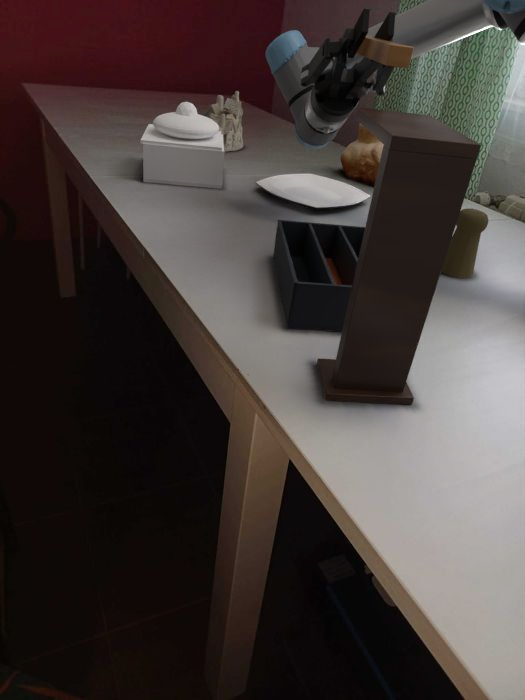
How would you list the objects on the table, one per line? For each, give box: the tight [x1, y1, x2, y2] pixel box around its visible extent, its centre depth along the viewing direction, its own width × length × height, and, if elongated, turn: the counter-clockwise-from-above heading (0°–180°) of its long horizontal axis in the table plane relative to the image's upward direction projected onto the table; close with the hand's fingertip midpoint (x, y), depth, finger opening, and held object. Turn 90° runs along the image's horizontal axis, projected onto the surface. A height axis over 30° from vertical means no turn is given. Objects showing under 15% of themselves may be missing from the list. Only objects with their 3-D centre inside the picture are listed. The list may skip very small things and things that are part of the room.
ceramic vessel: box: [340, 123, 384, 187], centre depth 138 cm, size 14×26×15 cm, turn 48°
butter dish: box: [140, 101, 226, 190], centre depth 123 cm, size 18×18×16 cm
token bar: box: [356, 36, 413, 69], centre depth 65 cm, size 20×2×2 cm, turn 3°
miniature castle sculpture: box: [202, 90, 244, 153], centre depth 153 cm, size 16×16×15 cm
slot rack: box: [272, 219, 365, 333], centre depth 81 cm, size 23×16×7 cm, turn 3°
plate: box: [255, 173, 371, 211], centre depth 123 cm, size 23×23×2 cm
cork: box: [441, 208, 489, 279], centre depth 93 cm, size 6×6×11 cm
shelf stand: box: [316, 106, 482, 405], centre depth 59 cm, size 15×10×28 cm, turn 3°
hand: (378, 22), depth 65 cm, fingers closed on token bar, 2 cm apart
